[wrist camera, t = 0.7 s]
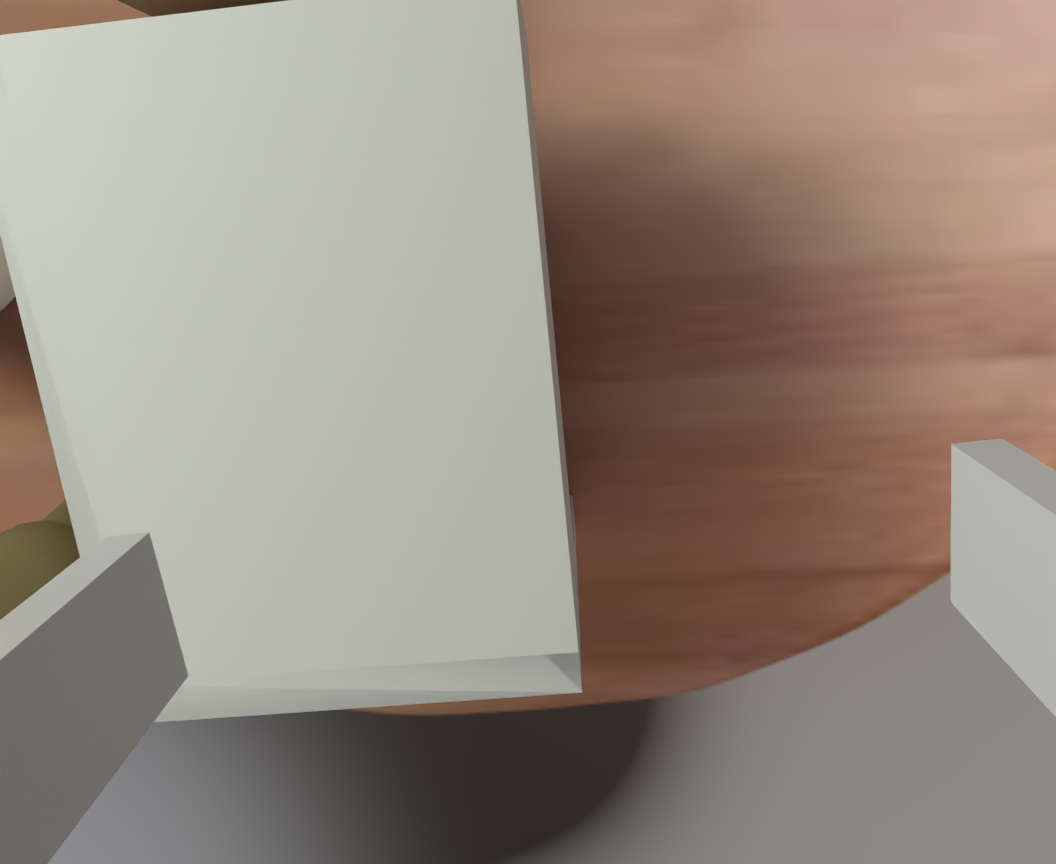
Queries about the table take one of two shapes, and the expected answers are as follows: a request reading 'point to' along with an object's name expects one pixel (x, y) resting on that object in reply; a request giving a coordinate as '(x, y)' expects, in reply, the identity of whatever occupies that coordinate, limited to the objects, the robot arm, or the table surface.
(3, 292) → the pill bottle
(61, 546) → the olive rounded cylinder
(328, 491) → the shelf cabinet
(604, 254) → the table surface
